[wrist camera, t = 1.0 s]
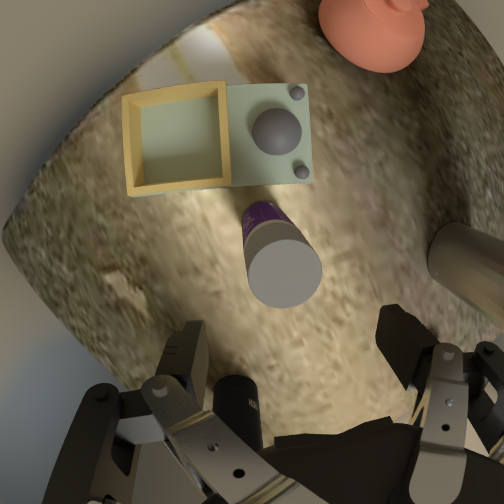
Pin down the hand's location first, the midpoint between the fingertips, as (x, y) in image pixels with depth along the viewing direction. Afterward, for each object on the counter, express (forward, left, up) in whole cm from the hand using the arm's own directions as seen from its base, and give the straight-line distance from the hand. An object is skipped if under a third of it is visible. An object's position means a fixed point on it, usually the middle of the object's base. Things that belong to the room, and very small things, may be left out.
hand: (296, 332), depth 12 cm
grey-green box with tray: (+4, -10, -20) cm, 22 cm away
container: (0, -1, -20) cm, 20 cm away
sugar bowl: (-14, -24, -20) cm, 35 cm away
